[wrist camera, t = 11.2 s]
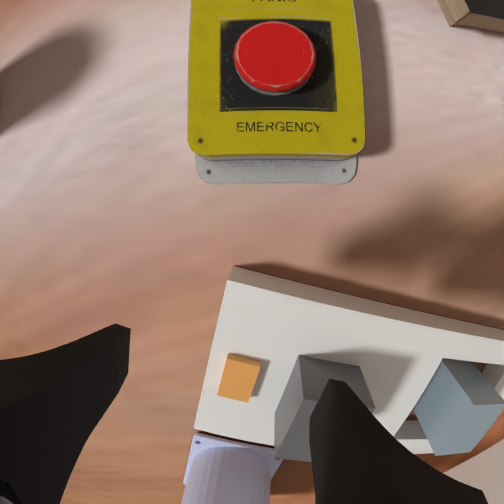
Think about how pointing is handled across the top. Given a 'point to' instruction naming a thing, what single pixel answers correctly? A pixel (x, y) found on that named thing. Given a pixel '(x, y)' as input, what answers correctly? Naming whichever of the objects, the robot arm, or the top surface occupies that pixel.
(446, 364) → the slate plug
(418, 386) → the white flat frame
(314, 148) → the emergency button
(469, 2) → the file folder
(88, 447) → the top surface
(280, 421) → the matte grey cube
